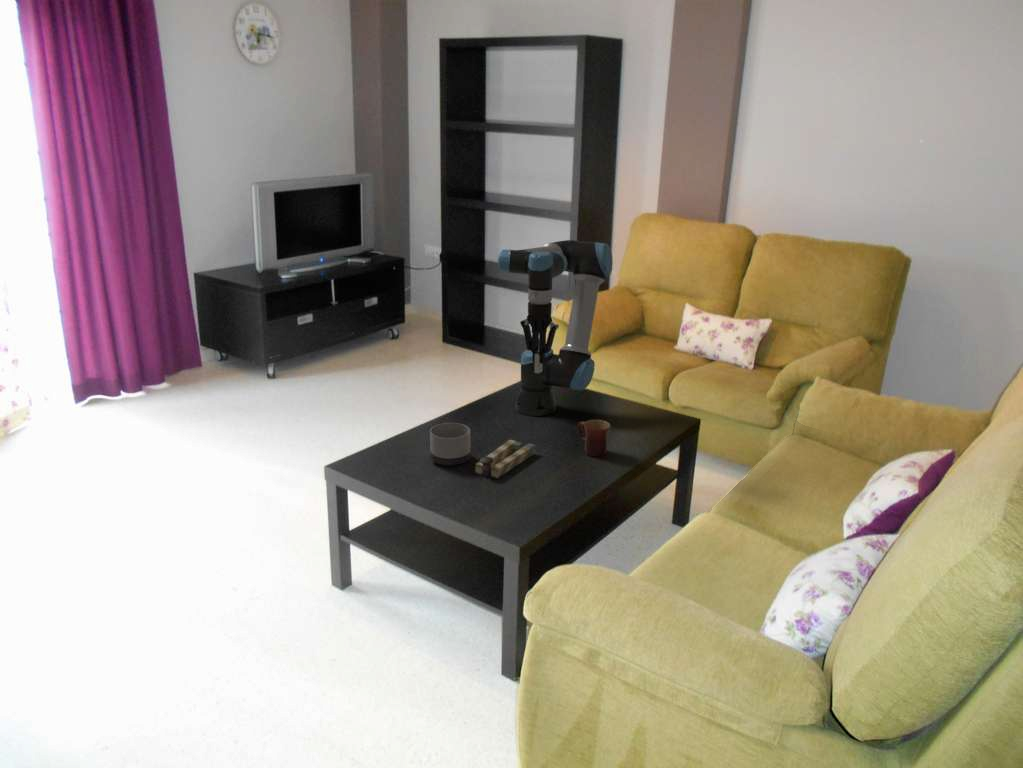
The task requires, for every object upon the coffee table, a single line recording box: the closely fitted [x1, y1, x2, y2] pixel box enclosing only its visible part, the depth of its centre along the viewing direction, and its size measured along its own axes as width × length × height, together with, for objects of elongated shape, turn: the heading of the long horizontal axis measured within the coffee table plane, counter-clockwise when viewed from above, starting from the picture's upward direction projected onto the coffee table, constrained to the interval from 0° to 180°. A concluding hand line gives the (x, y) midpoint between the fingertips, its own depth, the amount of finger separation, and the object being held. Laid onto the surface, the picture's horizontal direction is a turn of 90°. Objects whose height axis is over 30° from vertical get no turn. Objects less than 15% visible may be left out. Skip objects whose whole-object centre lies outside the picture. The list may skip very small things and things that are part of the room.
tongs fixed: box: [474, 439, 523, 478], centre depth 268 cm, size 24×6×6 cm, turn 151°
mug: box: [577, 419, 612, 458], centre depth 276 cm, size 12×9×10 cm
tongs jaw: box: [490, 443, 536, 479], centre depth 267 cm, size 22×2×3 cm, turn 147°
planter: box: [429, 422, 471, 467], centre depth 269 cm, size 13×13×10 cm
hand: (538, 371), depth 273 cm, fingers closed
